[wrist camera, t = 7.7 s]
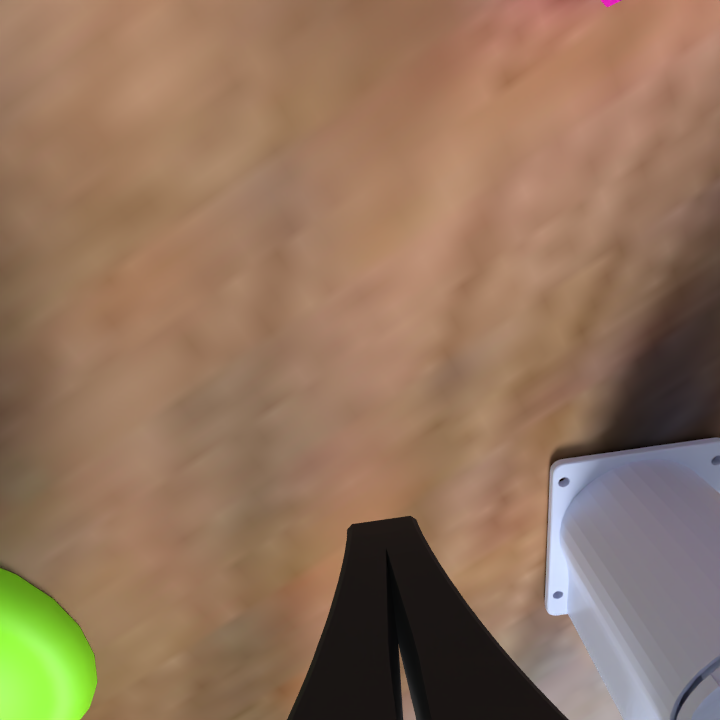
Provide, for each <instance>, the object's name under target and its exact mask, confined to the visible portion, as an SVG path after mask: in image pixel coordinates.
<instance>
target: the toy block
mask: <svg viewBox="0 0 720 720" xmlns="http://www.w3.org/2000/svg"><path fill="white" fill-rule="evenodd" d="M601 1H602V2H603V3H604V5H605V6H606V7H609V6H611V5H613V4H615V3H617V2H619V1H621V0H601Z"/></svg>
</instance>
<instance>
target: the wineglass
mask: <svg viewBox="0 0 720 720" xmlns="http://www.w3.org/2000/svg"><path fill="white" fill-rule="evenodd" d="M96 685H97V674H96V665H95V656H94V653H93V651H92V650H91V648H90V646H89V644H88V642H87V640H86V638H85V636H84V634H83V632H82V630H81V628H80V626H79V625H78V624H77V623H76V622H75V621H74V620H73V619H72V618H71V617H70V616H69V615H68V614H67V613H66V612H65V611H64V610H63V609H62V608H61V606H60V605H59V604H58V603H57V602H56V601H55V600H54V599H53V598H51V597H50V596H48V595H46V594H45V593H43V592H42V591H40V590H39V589H37V588H36V587H34V586H33V585H31V584H30V583H28V582H27V581H25V580H24V579H22V578H21V577H19V576H18V575H16V574H14V573H11V572H9V571H6V570H4V569H2V568H0V720H80V719H81V718H82V716H83V715H84V714H85V713H86V712H87V710H88V709H89V707H90V705H91V701H92V698H93V695H94V692H95V689H96Z"/></svg>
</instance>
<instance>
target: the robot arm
mask: <svg viewBox="0 0 720 720" xmlns="http://www.w3.org/2000/svg"><path fill="white" fill-rule="evenodd" d="M715 456H716V457H715ZM714 457H715V458H714ZM713 458H714V459H713ZM564 477H565V479H564V480H563V481H560V482H559V480H560V479H561V478H564ZM545 607H546V610H547V612H548V613H549V614H551V615H562V614H568V615H569V616H570V618H571V620H572V622H573V624H574V626H575V628H576V630H577V632H578V634H579V636H580V637H581V639H582V641H583V643H584V645H585V647H586V649H587V651H588V653H589V655H590V657H591V659H592V660H593V662H594V664H595V666H596V668H597V670H598V672H599V674H600V676H601V678H602V680H603V681H604V683H605V685H606V687H607V689H608V691H609V693H610V695H611V697H612V699H613V701H614V702H615V704H616V706H617V708H618V710H619V712H620V714H621V716H622V718H623V720H720V438H716V437H715V438H708V439H701V440H694V441H687V442H680V443H673V444H665V445H658V446H651V447H644V448H637V449H630V450H623V451H616V452H609V453H602V454H595V455H588V456H581V457H574V458H566V459H561V460H557V461H556V462H554V463H553V465H552V466H551V469H550V486H549V511H548V536H547V561H546V586H545ZM398 644H399V647H398ZM399 648H400V653H401V657H402V661H403V665H404V669H405V674H406V678H407V682H408V686H409V690H410V695H411V699H412V703H413V707H414V711H415V715H416V720H568V719H567V718H566V717H565V716H564V715H563V714H562V713H561V712H560V711H559V710H558V708H557V707H556V706H555V705H554V704H553V703H552V702H551V701H550V700H549V699H548V698H547V697H546V696H545V695H544V694H543V693H542V692H541V691H540V690H539V689H538V688H537V687H536V686H535V684H534V683H533V682H532V681H531V680H530V679H529V678H528V677H527V676H526V674H525V673H524V672H523V671H522V670H521V669H520V668H519V667H518V666H517V665H516V663H515V662H514V661H513V660H512V659H511V658H510V656H509V655H508V654H507V653H506V652H505V651H504V649H503V648H502V647H501V646H500V645H499V643H498V642H497V641H496V640H495V639H494V637H493V636H492V635H491V634H490V632H489V631H488V630H487V629H486V627H485V626H484V625H483V624H482V622H481V621H480V620H479V619H478V617H477V616H476V615H475V613H474V612H473V611H472V609H471V608H470V607H469V605H468V604H467V603H466V601H465V600H464V598H463V597H462V596H461V594H460V593H459V591H458V590H457V588H456V587H455V586H454V584H453V583H452V581H451V580H450V579H449V577H448V576H447V574H446V573H445V571H444V569H443V568H442V566H441V565H440V563H439V562H438V560H437V558H436V557H435V555H434V553H433V552H432V550H431V548H430V547H429V545H428V543H427V541H426V539H425V538H424V536H423V534H422V532H421V530H420V528H419V525H418V523H417V520H416V519H414V518H413V517H411V516H406V517H399V518H392V519H385V520H378V521H371V522H364V523H357V524H352V525H351V526H350V527H349V528H348V529H347V541H346V548H345V554H344V559H343V564H342V568H341V572H340V576H339V581H338V584H337V588H336V591H335V594H334V598H333V601H332V605H331V608H330V612H329V615H328V618H327V621H326V624H325V627H324V629H323V632H322V635H321V638H320V641H319V643H318V646H317V649H316V652H315V654H314V657H313V660H312V663H311V665H310V668H309V670H308V673H307V675H306V678H305V680H304V682H303V685H302V687H301V689H300V692H299V694H298V696H297V699H296V701H295V703H294V705H293V708H292V710H291V712H290V714H289V717H288V719H287V720H403V711H402V695H401V679H400V663H399Z"/></svg>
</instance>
